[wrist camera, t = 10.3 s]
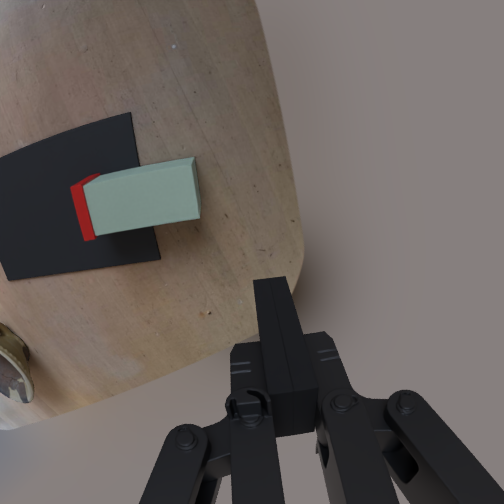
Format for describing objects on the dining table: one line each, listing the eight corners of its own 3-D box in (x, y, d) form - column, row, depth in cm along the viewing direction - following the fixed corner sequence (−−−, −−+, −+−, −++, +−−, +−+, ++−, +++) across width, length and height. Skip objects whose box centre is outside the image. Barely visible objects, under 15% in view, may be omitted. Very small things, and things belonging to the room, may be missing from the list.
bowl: (-26, 305, 43) (-49, 332, 34) (32, 314, 44) (9, 348, 36) (3, 366, 50) (-13, 394, 42) (61, 380, 52) (46, 413, 43)
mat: (130, 112, 33) (129, 112, 32) (160, 258, 41) (160, 259, 41) (-26, 170, 32) (-27, 171, 32) (9, 279, 41) (8, 280, 41)
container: (190, 161, 30) (69, 187, 29) (200, 221, 33) (84, 241, 32) (194, 154, 36) (90, 175, 35) (201, 204, 39) (101, 222, 38)
